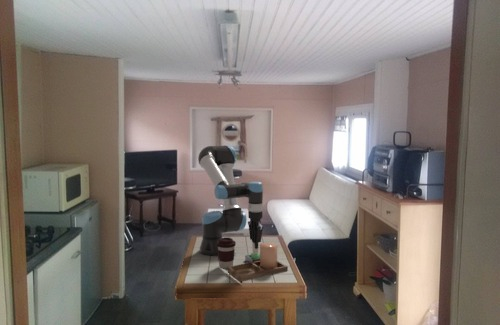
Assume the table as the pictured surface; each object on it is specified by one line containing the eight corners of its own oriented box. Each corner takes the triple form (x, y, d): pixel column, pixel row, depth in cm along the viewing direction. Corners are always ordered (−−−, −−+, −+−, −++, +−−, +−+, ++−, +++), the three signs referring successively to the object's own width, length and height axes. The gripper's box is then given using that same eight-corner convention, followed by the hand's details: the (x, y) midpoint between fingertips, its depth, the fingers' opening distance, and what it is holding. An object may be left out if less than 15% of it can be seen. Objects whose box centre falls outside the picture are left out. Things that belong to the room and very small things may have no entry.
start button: (249, 258, 209) (249, 253, 209) (256, 257, 211) (256, 252, 211) (253, 261, 205) (253, 256, 205) (261, 260, 207) (261, 254, 207)
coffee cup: (218, 271, 197) (218, 242, 196) (215, 264, 207) (215, 237, 205) (237, 269, 200) (237, 241, 198) (233, 262, 209) (233, 236, 208)
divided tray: (227, 273, 195) (227, 266, 194) (272, 263, 208) (272, 258, 208) (240, 282, 183) (240, 276, 182) (287, 272, 196) (287, 266, 195)
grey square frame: (245, 262, 210) (245, 255, 209) (257, 260, 214) (257, 253, 213) (252, 267, 203) (252, 259, 202) (265, 264, 207) (265, 257, 206)
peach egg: (256, 266, 200) (256, 244, 199) (271, 263, 204) (271, 241, 203) (265, 272, 192) (265, 249, 191) (280, 269, 197) (281, 246, 195)
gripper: (243, 209, 209) (243, 251, 212) (255, 214, 198) (255, 258, 200) (255, 207, 213) (255, 249, 215) (267, 212, 202) (267, 256, 204)
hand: (255, 253), depth 208 cm, fingers closed
